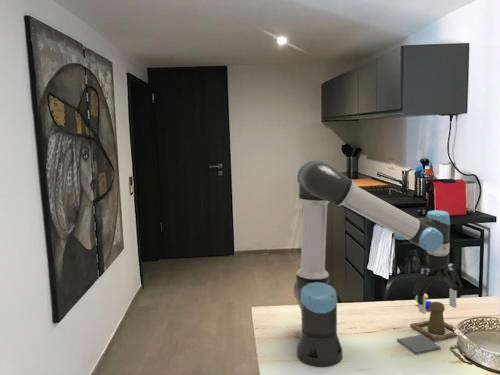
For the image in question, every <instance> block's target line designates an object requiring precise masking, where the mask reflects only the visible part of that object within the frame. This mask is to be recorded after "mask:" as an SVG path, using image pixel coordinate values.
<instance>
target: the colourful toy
mask: <svg viewBox="0 0 500 375" xmlns="http://www.w3.org/2000/svg"><path fill="white" fill-rule="evenodd" d="M424 296H426V309H428V310H430V309H429V305H430V303H431V301H429V300H428V299H429V295H428V294H427V292H426V293H425V294H424ZM414 300H415V301H416V302H417V295H416V296H415V297H414Z"/></svg>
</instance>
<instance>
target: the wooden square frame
mask: <svg viewBox="0 0 500 375" xmlns="http://www.w3.org/2000/svg"><path fill="white" fill-rule="evenodd" d="M428 324H429V320H425V321H419V322H414V323H410V324H409V328H411V329H413V330H414V331H416V332H417V333H419V335H422V336H424V337H425V338H427V339H429V340H430V341H432V342H433V343H435V342H436V343H437V342H442V341H446V340H450V339H451V340H452V339H455V338H458V337H457V336H458V335H457V334H456V333H455V332H454V330H453V328H455V327H454V326H453V325H451V324H449V323H447V322H445V321H444V327H445V330H448V331H449V332H450V333H445V334H444V335H434V334H431V333H429V332H428V330H425V329H423V327H428Z"/></svg>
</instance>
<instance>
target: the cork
mask: <svg viewBox="0 0 500 375" xmlns="http://www.w3.org/2000/svg"><path fill="white" fill-rule="evenodd" d="M430 302H431V301H430ZM445 308H446V307H445V305H444V304H443V303H442V302H440V301H432V302H431V303H430V305H429V309H428V310H430V312H429V319H428V321H429V324H428V326H427V332H428V333H430V334H432V335H433V336H439V335H444V334H446V328H445V327H444V322H445V320H444V318H445V317H444V312H445V310H446V309H445Z"/></svg>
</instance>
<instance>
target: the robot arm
mask: <svg viewBox="0 0 500 375" xmlns="http://www.w3.org/2000/svg"><path fill="white" fill-rule="evenodd" d="M296 179H297V182H298V199H299V200H300V202H302V221H301V247H300V248H301V251H300V252H301V254H300V255H301V256H300V257H301V258H300V268H299V269H298V270H297V271H296V272H295V273H296V274H295V275H296V278H295V282H294V285H293V291H294V292H293V293H294V297H295V299H296V301H297V303H298V305H299V308H300V311H301V312H300V313H301V334H300V337H299V339H298V342H297V343H298V344H297V347H296V356H297V359H299V360H300V361H301V362H303V363H304V364H306V365H309V366H313V367H329V366H334V365H336V364H338V363H340V361H342V359H343V348H342V345H341V341H340V339H339V336H338V331H337V330H338V328H337V327H338V323H337V322H338V318H337V317H338V316H337V315H338V314H337V313H338V310H337V308H338V307H337V306H338V305H337V304H338V296H337V292H336V289H335V288H334V286H332V285H330V284H329V279H330V278H329V276H330V275H329V272H328V271H327V270H326V269H325V268H326V247H327V246H326V245H327V243H326V242H327V220H328V219H327V217H328V204H329V203H332V204H333V205H335V206H337V207H339V206H344V207H346V209H347V208H348V209H350V210H351V211H353V212H355V213H357V214H358V215H361V216H362V217H365V219H368V220H370V221H371V222H374V223H376V224H377V225H379V226H381V227H383V228H385V229H387V230H389V231H391V232H392V233H393V235H394V238H395V239H396V240H399V241H401V240H402V241H406V240H408V241H409V242H410V243H413V244H414V245H416V246H417V247H420V248H421V249H423V250H425V251H426V263H427V267H426V268H423V267H420V269H419V275H418V276H417V279H416V282H415V284H414V287H413V289H412V294H414V295H416V296H417V301H416V303H417V304H418V312H419V313H421V314H423V315H426V313H427V310H426V309H427V308H426V301H427V300H426V296H424V294H425V293H426V294H427V291H428V290H429V288H430V286H431V285H432V283H433V282H435V281H437V280H440V279H441V280H442V279H444V280H445V281H446V283H447V284H448V286H450V288H449V294H448V295H449V298H448V299H449V301H448V302H449V304H448V305H449V306H450V307H452V308H454V309H456V308H457V298H458V293H459V291H461V289H462V288H463V283H462V280H461V279H460V276H459V274H458V272H457V267H456V264H455V263H454V264H453V263H450V254H449V253H450V247H451V245H450V243H451V242H450V239H451V237H450V232H451V231H450V230H451V219H450V218H451V217H450V213H449V212H447V211H444V210H437V209H436V210H429V211H427V213H426V216H424V217H414V216H412V215H410V214H408V213H407V212H405V211H403V210H401V209H399V208H397V207H396V206H394V205H392V204H390V203H388V202H386V201H385V200H383V199H381V198H379V197H377V196H376V195H374V194H372V193H370V192H368V191H366V190H365V189H363V188H361V187H359V186H357V185H355V184H354V181H353V179H352V178H349V177H348V176H346V175H344V173H341V172H340V171H339V170H337V169H336V168H335V167H333V166H332V165H331V164H328V163H326V162H324V161H322V160H310V161H307V162H305V163H304V164H303V165H302V166H301V167H299V170H298V172H297V178H296ZM449 273H450V274H449Z"/></svg>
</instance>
